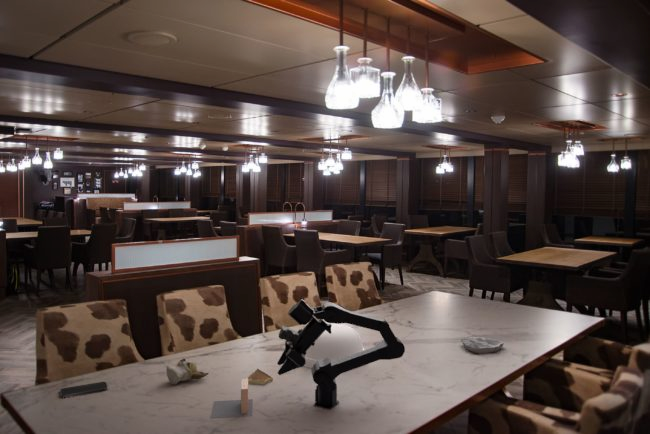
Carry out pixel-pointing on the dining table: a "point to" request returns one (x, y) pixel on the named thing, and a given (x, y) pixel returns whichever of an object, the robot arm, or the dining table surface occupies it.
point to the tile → (244, 396)
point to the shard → (259, 378)
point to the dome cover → (334, 345)
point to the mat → (230, 409)
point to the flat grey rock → (482, 344)
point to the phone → (83, 389)
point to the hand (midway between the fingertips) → (278, 369)
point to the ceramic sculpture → (183, 372)
